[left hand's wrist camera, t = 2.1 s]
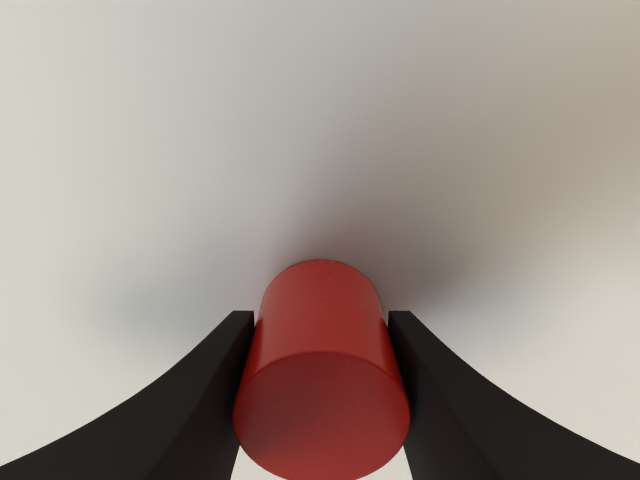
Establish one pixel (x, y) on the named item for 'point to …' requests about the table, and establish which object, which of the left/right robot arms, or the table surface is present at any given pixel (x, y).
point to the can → (321, 378)
